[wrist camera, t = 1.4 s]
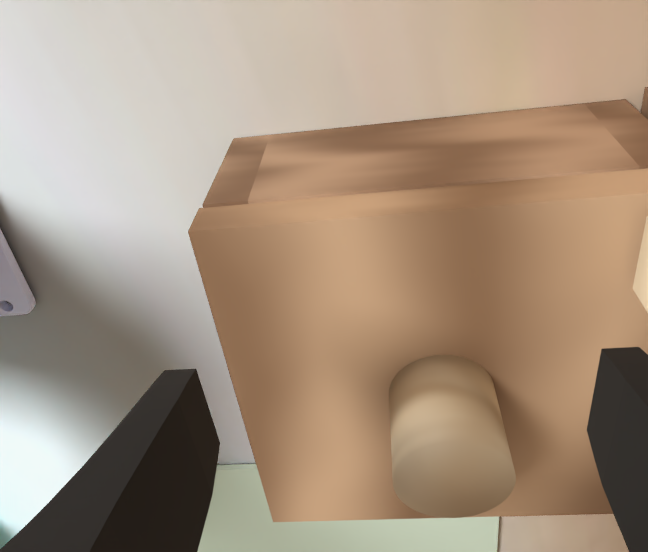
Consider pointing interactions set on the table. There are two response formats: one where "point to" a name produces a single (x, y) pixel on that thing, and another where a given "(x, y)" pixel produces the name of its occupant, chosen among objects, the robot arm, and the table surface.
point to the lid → (426, 342)
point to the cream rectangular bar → (642, 270)
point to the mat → (326, 526)
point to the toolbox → (433, 153)
